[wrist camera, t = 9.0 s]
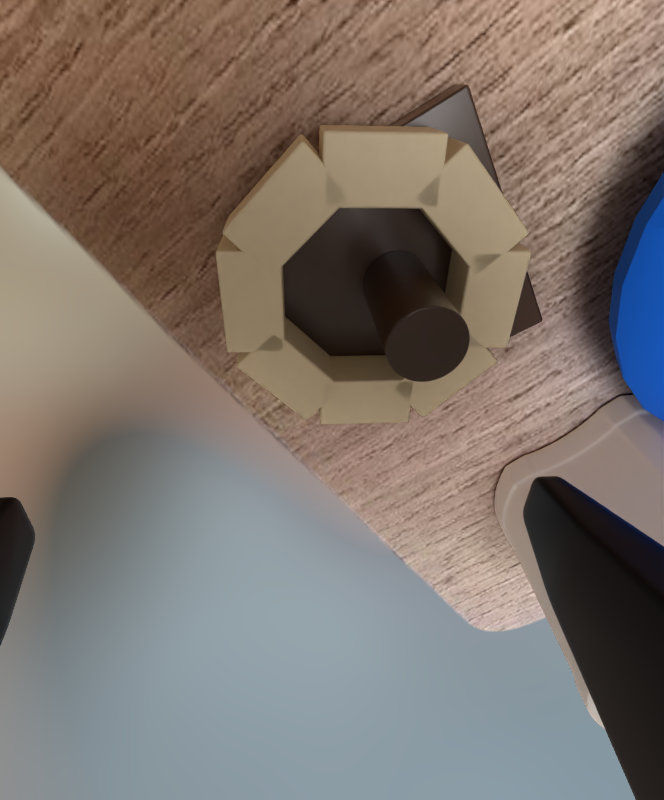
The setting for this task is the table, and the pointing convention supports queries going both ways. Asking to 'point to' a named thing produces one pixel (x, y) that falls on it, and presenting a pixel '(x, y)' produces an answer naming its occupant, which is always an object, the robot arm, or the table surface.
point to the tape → (367, 188)
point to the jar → (591, 489)
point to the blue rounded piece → (642, 305)
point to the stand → (392, 272)
